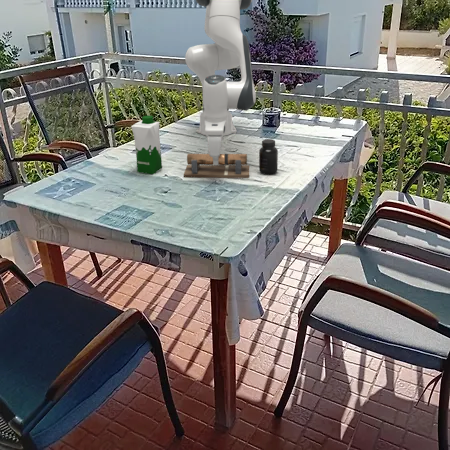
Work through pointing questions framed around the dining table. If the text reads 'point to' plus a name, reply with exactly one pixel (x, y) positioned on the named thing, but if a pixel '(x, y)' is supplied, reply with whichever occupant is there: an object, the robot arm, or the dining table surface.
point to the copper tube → (223, 159)
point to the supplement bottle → (268, 157)
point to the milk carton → (147, 145)
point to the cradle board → (217, 171)
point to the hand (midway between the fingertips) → (216, 160)
